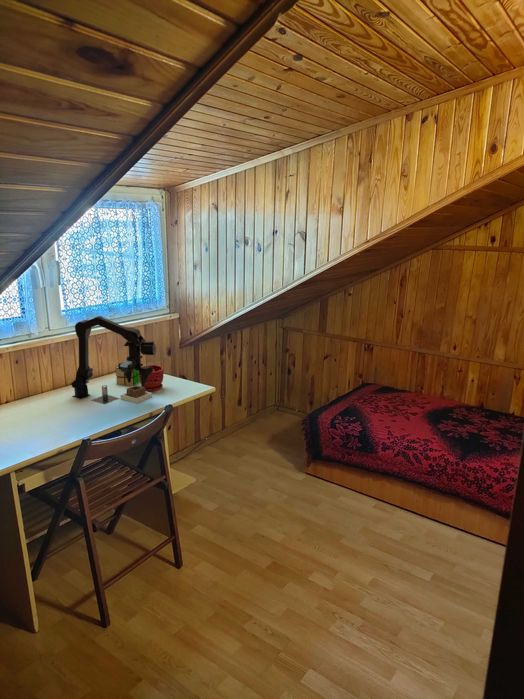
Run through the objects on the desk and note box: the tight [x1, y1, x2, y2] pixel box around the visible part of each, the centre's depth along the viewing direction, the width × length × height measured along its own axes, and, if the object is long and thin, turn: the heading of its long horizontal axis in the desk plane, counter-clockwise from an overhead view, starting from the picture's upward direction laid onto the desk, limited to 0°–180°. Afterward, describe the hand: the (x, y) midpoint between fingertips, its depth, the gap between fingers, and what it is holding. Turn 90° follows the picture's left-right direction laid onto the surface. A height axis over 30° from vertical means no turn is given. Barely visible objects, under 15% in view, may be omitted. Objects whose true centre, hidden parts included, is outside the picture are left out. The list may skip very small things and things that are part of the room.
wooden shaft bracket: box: [126, 384, 145, 398], centre depth 236 cm, size 6×6×5 cm
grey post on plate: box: [90, 384, 121, 405], centre depth 233 cm, size 10×10×7 cm
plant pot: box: [138, 364, 165, 393], centre depth 250 cm, size 13×13×12 cm
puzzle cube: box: [115, 366, 141, 387], centre depth 259 cm, size 10×10×10 cm
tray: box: [120, 391, 153, 404], centre depth 237 cm, size 11×11×2 cm
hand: (136, 384), depth 235 cm, fingers open, 9 cm apart
